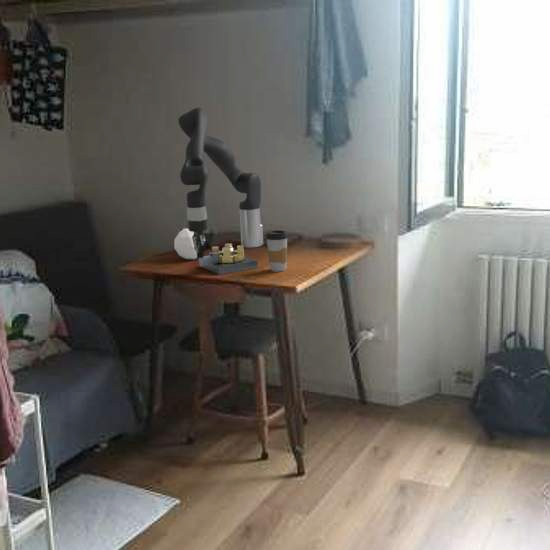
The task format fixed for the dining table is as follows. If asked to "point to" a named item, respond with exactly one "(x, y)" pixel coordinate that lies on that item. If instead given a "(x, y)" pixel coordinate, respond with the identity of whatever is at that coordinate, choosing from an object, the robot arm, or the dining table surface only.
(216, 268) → the housing
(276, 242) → the coffee cup
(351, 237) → the dining table surface
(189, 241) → the geodesic sphere
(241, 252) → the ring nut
